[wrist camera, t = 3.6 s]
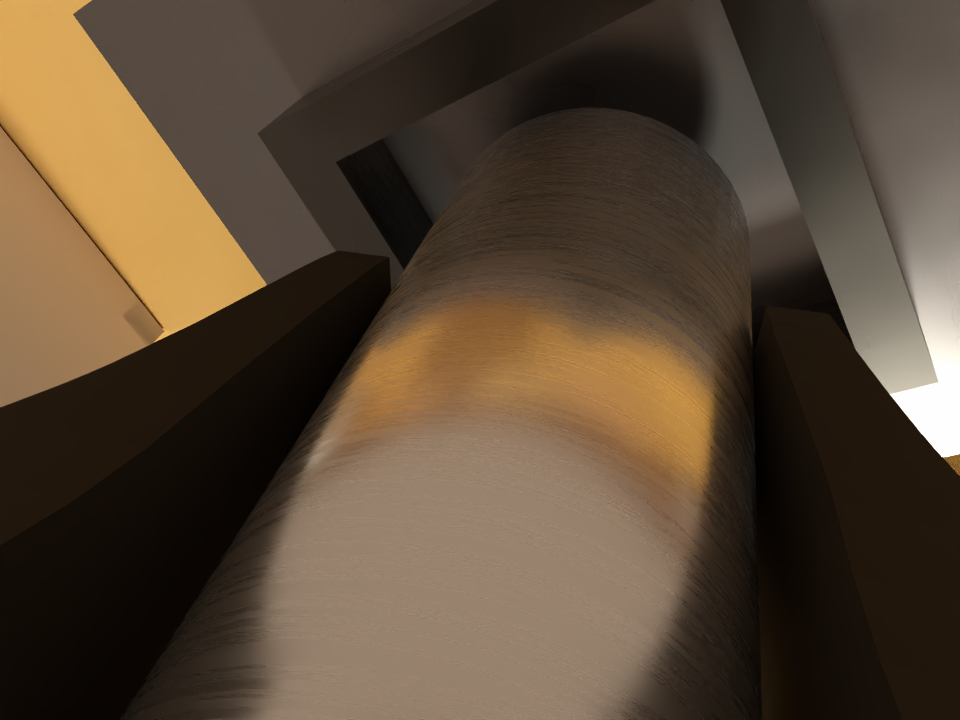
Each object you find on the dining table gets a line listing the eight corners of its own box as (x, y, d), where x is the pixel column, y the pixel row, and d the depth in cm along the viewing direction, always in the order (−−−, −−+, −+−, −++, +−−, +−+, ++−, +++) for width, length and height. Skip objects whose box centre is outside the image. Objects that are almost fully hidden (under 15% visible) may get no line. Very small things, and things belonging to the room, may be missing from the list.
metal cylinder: (780, 124, 10) (892, 1081, 3) (720, 397, 12) (697, 1297, 5) (446, 93, 11) (-136, 791, 4) (449, 356, 13) (103, 1094, 6)
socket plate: (1138, 369, 13) (1209, 480, 11) (475, 524, 19) (445, 617, 17) (927, -598, 8) (988, -703, 6) (111, -2, 14) (5, 41, 12)
